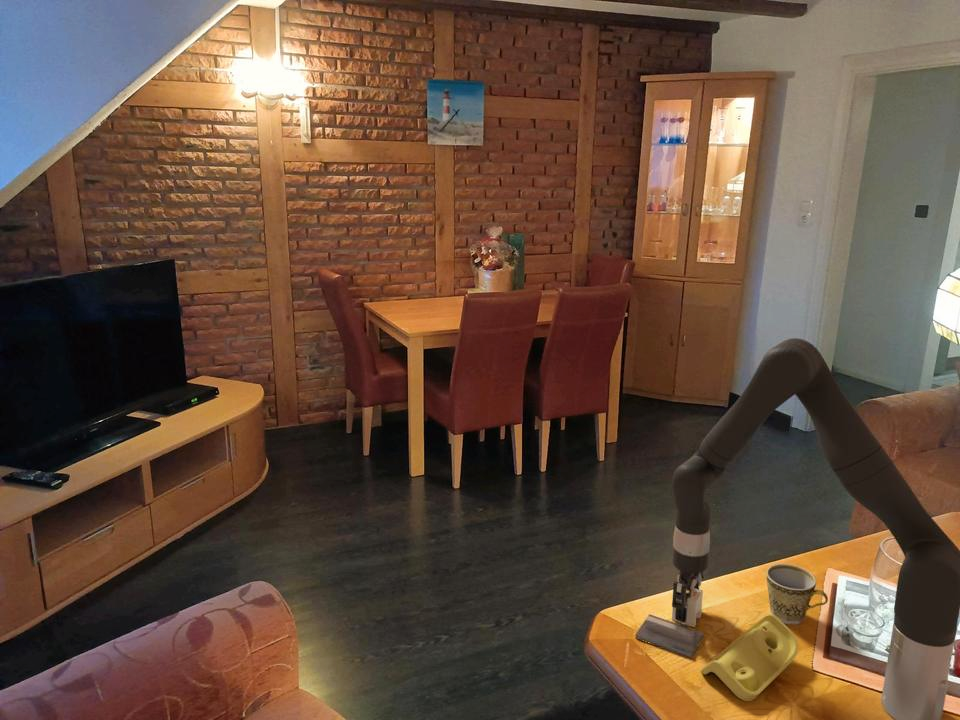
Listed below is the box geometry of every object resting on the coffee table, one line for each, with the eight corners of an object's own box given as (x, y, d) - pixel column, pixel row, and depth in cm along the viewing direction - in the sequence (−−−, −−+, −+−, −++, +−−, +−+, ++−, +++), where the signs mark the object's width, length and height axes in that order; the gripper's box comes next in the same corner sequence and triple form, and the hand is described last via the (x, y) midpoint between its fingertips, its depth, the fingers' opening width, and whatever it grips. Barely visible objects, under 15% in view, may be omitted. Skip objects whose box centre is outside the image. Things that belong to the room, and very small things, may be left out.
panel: (703, 636, 148) (703, 624, 147) (691, 658, 142) (692, 646, 141) (649, 618, 155) (649, 606, 154) (635, 638, 148) (636, 626, 148)
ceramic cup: (754, 615, 155) (758, 576, 152) (775, 596, 161) (779, 558, 158) (813, 643, 145) (818, 602, 143) (833, 622, 152) (838, 582, 149)
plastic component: (752, 699, 128) (710, 655, 133) (736, 717, 132) (696, 673, 138) (807, 646, 139) (766, 607, 144) (790, 664, 144) (751, 625, 149)
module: (701, 615, 155) (702, 589, 153) (694, 627, 151) (696, 600, 149) (679, 608, 158) (680, 582, 156) (671, 619, 154) (673, 593, 152)
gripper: (698, 566, 142) (693, 633, 146) (718, 535, 153) (713, 599, 158) (662, 555, 146) (659, 621, 150) (684, 526, 157) (680, 588, 162)
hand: (687, 610), depth 154 cm, fingers open, 8 cm apart
